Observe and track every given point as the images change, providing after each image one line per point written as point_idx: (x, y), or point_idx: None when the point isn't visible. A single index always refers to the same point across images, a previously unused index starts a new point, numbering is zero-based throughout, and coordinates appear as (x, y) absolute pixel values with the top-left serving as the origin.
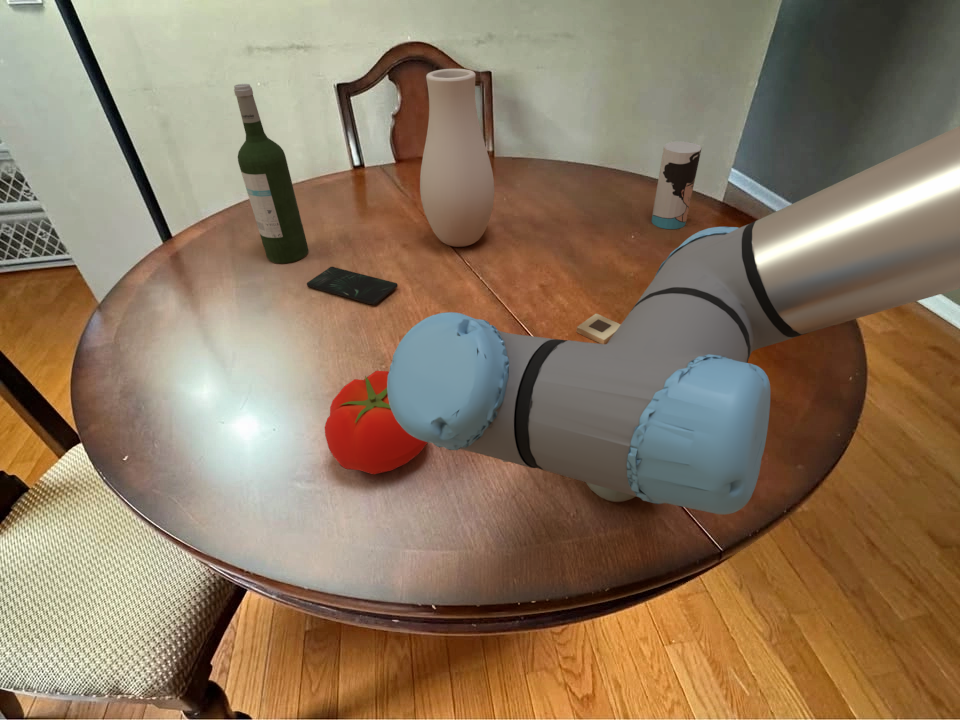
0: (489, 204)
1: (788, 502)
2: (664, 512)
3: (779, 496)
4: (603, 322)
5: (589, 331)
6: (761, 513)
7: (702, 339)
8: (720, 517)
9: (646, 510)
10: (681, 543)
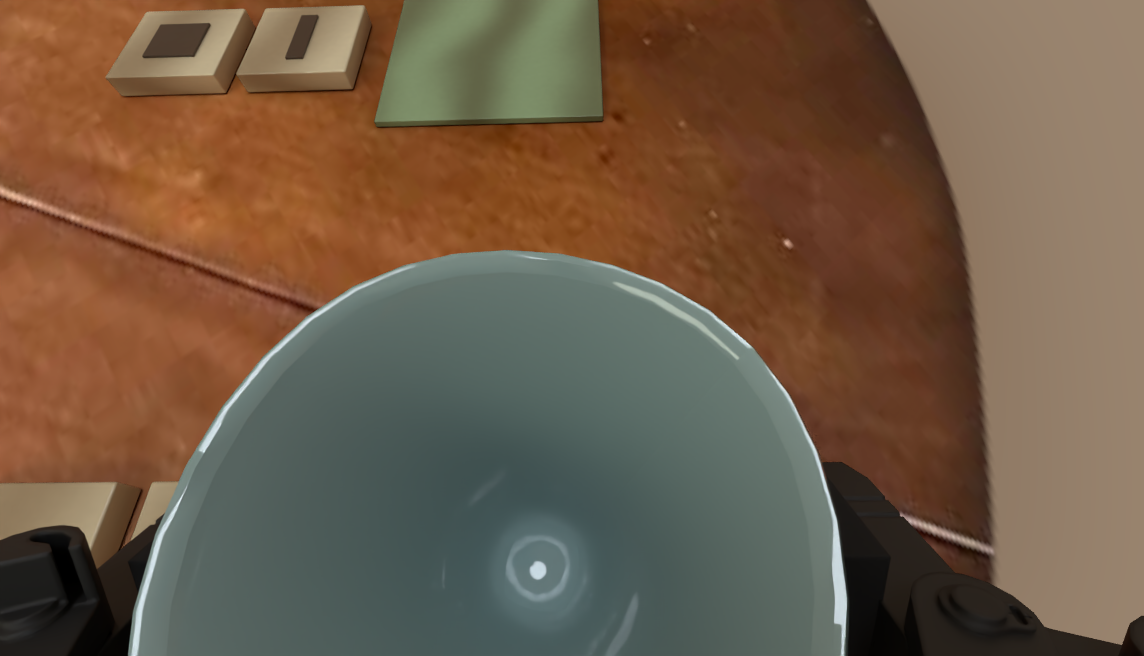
0: None
1: (961, 252)
2: None
3: (932, 250)
4: (181, 26)
5: (153, 71)
6: (951, 333)
7: None
8: (895, 431)
9: None
10: None
